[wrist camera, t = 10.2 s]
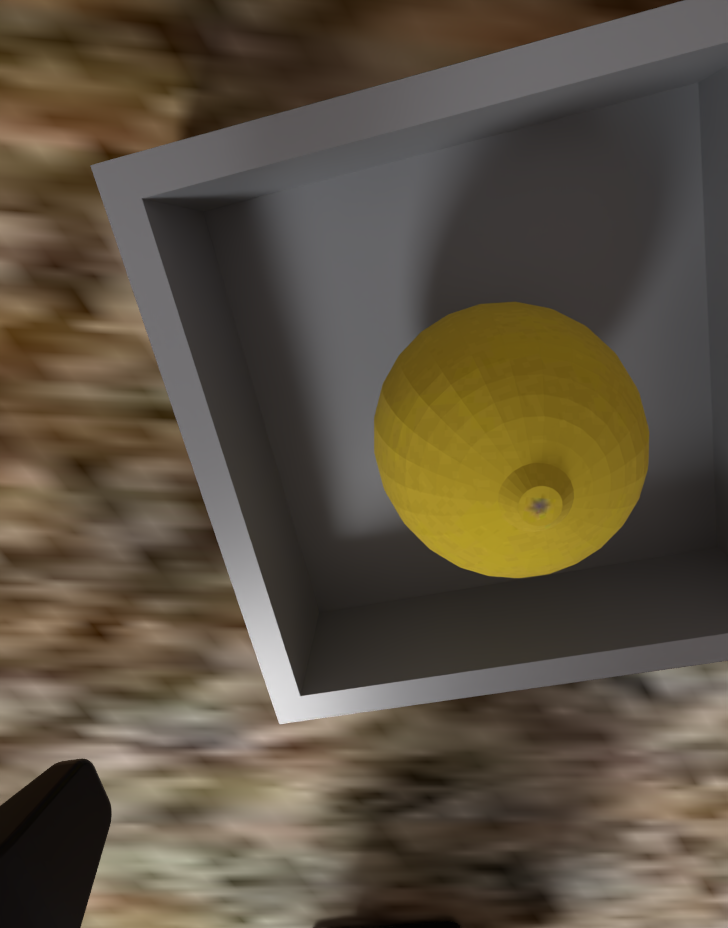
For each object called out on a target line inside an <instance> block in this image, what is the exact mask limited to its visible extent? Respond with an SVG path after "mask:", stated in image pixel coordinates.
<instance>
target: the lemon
mask: <svg viewBox="0 0 728 928" xmlns="http://www.w3.org/2000/svg"><path fill="white" fill-rule="evenodd" d="M374 454H375V458H376V461H377V465H378V469H379V473H380V476H381V480H382V484H383V487H384V490H385V492H386V494H387V496H388V497H389V499H390V501H391V502H392V504H393V506H394V507H395V509H396V511H397V512H398V514H399V516H400V518H401V519H402V521H403V522H404V524H405V525H406V526H407V527H408V528H409V529H410V530H411V531H412V532H413V533H414V534H415V535H416V536H417V537H418V538H419V539H420V540H421V541H422V542H423V543H424V544H425V545H426V546H427V547H428V548H429V549H430V550H432V551H433V552H435V553H437V554H438V555H440V556H442V557H443V558H445V559H447V560H448V561H450V562H452V563H453V564H455V565H457V566H459V567H461V568H464V569H467V570H470V571H474V572H477V573H480V574H483V575H487V576H495V577H509V578H524V577H532V576H539V575H546V574H551V573H553V572H556V571H559V570H561V569H564V568H567V567H569V566H572V565H575V564H577V563H578V562H580V561H582V560H583V559H585V558H586V557H588V556H589V555H591V554H592V553H594V552H596V551H597V550H599V549H600V548H601V547H602V546H603V545H604V544H605V543H606V542H607V541H608V540H609V539H610V538H611V537H612V536H613V535H614V534H615V533H616V532H617V531H618V530H619V529H620V528H621V527H622V526H623V525H624V523H625V521H626V520H627V518H628V516H629V515H630V513H631V511H632V510H633V508H634V506H635V505H636V503H637V501H638V500H639V497H640V494H641V491H642V487H643V484H644V481H645V477H646V474H647V471H648V463H649V428H648V424H647V420H646V416H645V412H644V408H643V405H642V401H641V397H640V394H639V391H638V389H637V387H636V385H635V384H634V382H633V380H632V379H631V377H630V375H629V374H628V372H627V371H626V369H625V367H624V366H623V364H622V362H621V361H620V359H619V358H618V356H617V355H616V353H615V352H614V351H613V350H612V349H611V348H610V347H608V346H607V345H606V344H605V343H604V342H603V341H602V340H601V339H600V338H599V337H598V336H596V335H595V334H594V333H593V332H592V331H591V330H590V329H589V328H588V327H586V326H585V325H583V324H581V323H579V322H577V321H575V320H573V319H571V318H569V317H567V316H565V315H563V314H561V313H559V312H557V311H555V310H553V309H550V308H546V307H541V306H536V305H530V304H525V303H520V302H501V303H486V304H478V305H475V306H472V307H469V308H466V309H463V310H460V311H457V312H454V313H451V314H448V315H447V316H445V317H443V318H442V319H440V320H439V321H437V322H436V323H434V324H433V325H431V326H429V327H428V328H426V329H425V330H423V331H422V332H421V333H420V334H419V335H418V336H417V337H416V338H415V339H414V340H413V341H412V342H411V343H410V344H409V345H408V346H407V347H406V348H405V349H404V350H403V351H402V353H401V354H400V355H399V356H398V358H397V359H396V361H395V363H394V365H393V366H392V368H391V370H390V372H389V374H388V375H387V377H386V379H385V381H384V382H383V385H382V389H381V393H380V396H379V400H378V404H377V408H376V412H375V416H374Z"/></svg>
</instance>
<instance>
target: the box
mask: <svg viewBox="0 0 728 928" xmlns="http://www.w3.org/2000/svg"><path fill="white" fill-rule="evenodd" d="M91 168H92V171H93V174H94V177H95V180H96V183H97V186H98V189H99V192H100V195H101V198H102V201H103V204H104V207H105V210H106V213H107V216H108V219H109V222H110V225H111V228H112V230H113V233H114V236H115V239H116V242H117V245H118V248H119V251H120V254H121V257H122V260H123V263H124V266H125V269H126V272H127V275H128V278H129V281H130V284H131V287H132V290H133V293H134V296H135V298H136V301H137V304H138V307H139V310H140V313H141V316H142V319H143V322H144V325H145V328H146V331H147V334H148V337H149V340H150V343H151V346H152V349H153V352H154V355H155V358H156V361H157V364H158V366H159V369H160V372H161V375H162V378H163V381H164V384H165V387H166V390H167V393H168V396H169V399H170V402H171V405H172V408H173V411H174V414H175V417H176V420H177V423H178V426H179V429H180V432H181V434H182V437H183V440H184V443H185V446H186V449H187V452H188V455H189V458H190V461H191V464H192V467H193V470H194V473H195V476H196V479H197V482H198V485H199V488H200V491H201V494H202V497H203V500H204V503H205V505H206V508H207V511H208V514H209V517H210V520H211V523H212V526H213V529H214V532H215V535H216V538H217V541H218V544H219V547H220V550H221V553H222V556H223V559H224V562H225V565H226V568H227V571H228V573H229V576H230V579H231V582H232V585H233V588H234V591H235V594H236V597H237V600H238V603H239V606H240V609H241V612H242V615H243V618H244V621H245V624H246V627H247V630H248V633H249V636H250V639H251V641H252V644H253V647H254V650H255V653H256V656H257V659H258V662H259V665H260V668H261V671H262V674H263V677H264V680H265V683H266V686H267V689H268V692H269V695H270V698H271V701H272V704H273V707H274V709H275V712H276V715H277V718H278V721H279V724H284V723H291V722H298V721H305V720H312V719H319V718H326V717H333V716H340V715H347V714H354V713H361V712H369V711H376V710H383V709H390V708H397V707H404V706H411V705H418V704H425V703H432V702H439V701H446V700H453V699H460V698H467V697H474V696H481V695H488V694H496V693H503V692H510V691H517V690H524V689H531V688H538V687H545V686H552V685H559V684H566V683H573V682H580V681H587V680H594V679H601V678H608V677H615V676H623V675H630V674H637V673H644V672H651V671H658V670H665V669H672V668H679V667H686V666H693V665H700V664H707V663H714V662H721V661H728V0H684V1H680V2H676V3H673V4H669V5H666V6H662V7H658V8H655V9H651V10H648V11H644V12H640V13H637V14H633V15H630V16H626V17H622V18H619V19H615V20H612V21H608V22H604V23H601V24H597V25H594V26H590V27H587V28H583V29H579V30H576V31H572V32H569V33H565V34H561V35H558V36H554V37H551V38H547V39H543V40H540V41H536V42H533V43H529V44H525V45H522V46H518V47H515V48H511V49H507V50H504V51H500V52H497V53H493V54H489V55H486V56H482V57H479V58H475V59H471V60H468V61H464V62H461V63H457V64H453V65H450V66H446V67H443V68H439V69H435V70H432V71H428V72H425V73H421V74H418V75H414V76H410V77H407V78H403V79H400V80H396V81H392V82H389V83H385V84H382V85H378V86H374V87H371V88H367V89H364V90H360V91H356V92H353V93H349V94H346V95H342V96H338V97H335V98H331V99H328V100H324V101H320V102H317V103H313V104H310V105H306V106H302V107H299V108H295V109H292V110H288V111H284V112H281V113H277V114H274V115H270V116H266V117H263V118H259V119H256V120H252V121H249V122H245V123H241V124H238V125H234V126H231V127H227V128H223V129H220V130H216V131H213V132H209V133H205V134H202V135H198V136H195V137H191V138H187V139H184V140H180V141H177V142H173V143H169V144H166V145H162V146H159V147H155V148H151V149H148V150H144V151H141V152H137V153H133V154H130V155H126V156H123V157H119V158H115V159H112V160H108V161H105V162H101V163H97V164H94V165H91ZM501 302H520V303H525V304H530V305H536V306H541V307H546V308H550V309H553V310H555V311H557V312H559V313H561V314H563V315H565V316H567V317H569V318H571V319H573V320H575V321H577V322H579V323H581V324H583V325H585V326H586V327H588V328H589V329H590V330H591V331H592V332H593V333H594V334H595V335H596V336H598V337H599V338H600V339H601V340H602V341H603V342H604V343H605V344H606V345H607V346H608V347H610V348H611V349H612V350H613V351H614V352H615V353H616V355H617V356H618V358H619V359H620V361H621V362H622V364H623V366H624V367H625V369H626V371H627V372H628V374H629V375H630V377H631V379H632V380H633V382H634V384H635V385H636V387H637V389H638V391H639V394H640V397H641V401H642V405H643V408H644V412H645V416H646V420H647V424H648V428H649V463H648V471H647V474H646V477H645V481H644V484H643V487H642V491H641V494H640V497H639V500H638V501H637V503H636V505H635V506H634V508H633V510H632V511H631V513H630V515H629V516H628V518H627V520H626V521H625V523H624V525H623V526H622V527H621V528H620V529H619V530H618V531H617V532H616V533H615V534H614V535H613V536H612V537H611V538H610V539H609V540H608V541H607V542H606V543H605V544H604V545H603V546H602V547H601V548H600V549H599V550H597V551H596V552H594V553H592V554H591V555H589V556H588V557H586V558H585V559H583V560H582V561H580V562H578V563H577V564H575V565H572V566H569V567H567V568H564V569H561V570H559V571H556V572H553V573H551V574H546V575H539V576H532V577H524V578H509V577H495V576H487V575H483V574H480V573H477V572H474V571H470V570H467V569H464V568H461V567H459V566H457V565H455V564H453V563H452V562H450V561H448V560H447V559H445V558H443V557H442V556H440V555H438V554H437V553H435V552H433V551H432V550H430V549H429V548H428V547H427V546H426V545H425V544H424V543H423V542H422V541H421V540H420V539H419V538H418V537H417V536H416V535H415V534H414V533H413V532H412V531H411V530H410V529H409V528H408V527H407V526H406V525H405V524H404V522H403V521H402V519H401V518H400V516H399V514H398V512H397V511H396V509H395V507H394V506H393V504H392V502H391V501H390V499H389V497H388V496H387V494H386V492H385V490H384V487H383V484H382V480H381V476H380V473H379V469H378V465H377V461H376V458H375V454H374V416H375V412H376V408H377V404H378V400H379V396H380V393H381V389H382V385H383V382H384V381H385V379H386V377H387V375H388V374H389V372H390V370H391V368H392V366H393V365H394V363H395V361H396V359H397V358H398V356H399V355H400V354H401V353H402V351H403V350H404V349H405V348H406V347H407V346H408V345H409V344H410V343H411V342H412V341H413V340H414V339H415V338H416V337H417V336H418V335H419V334H420V333H421V332H422V331H423V330H425V329H426V328H428V327H429V326H431V325H433V324H434V323H436V322H437V321H439V320H440V319H442V318H443V317H445V316H447V315H448V314H451V313H454V312H457V311H460V310H463V309H466V308H469V307H472V306H475V305H478V304H486V303H501Z"/></svg>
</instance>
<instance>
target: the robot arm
mask: <svg viewBox="0 0 728 928" xmlns="http://www.w3.org/2000/svg"><path fill="white" fill-rule="evenodd" d="M110 823H111V804H110V801H109V799H108V796H107V794H106V792H105V790H104V787H103V785H102V783H101V781H100V778H99V776H98V774H97V772H96V769H95V767H94V765H93V764H92V763H91V762H90V761H89V760H87V759H76V760H68V761H62V762H58V763H56V764H54V765H53V766H51V767H50V768H49V769H47V770H46V771H45V772H43V773H42V774H41V775H40V776H38V777H37V778H36V779H34V780H33V781H32V782H30V783H29V784H28V785H27V786H25V787H24V788H23V789H21V790H20V791H19V792H18V793H16V794H15V795H14V796H12V797H11V798H10V799H9V800H7V801H6V802H5V803H3V804H2V805H1V806H0V928H80V927H81V923H82V920H83V917H84V913H85V910H86V906H87V903H88V899H89V896H90V893H91V889H92V886H93V882H94V879H95V875H96V872H97V868H98V865H99V862H100V858H101V855H102V851H103V848H104V844H105V841H106V838H107V834H108V831H109V827H110ZM382 928H461V927H460V925H458V924H457V923H455V922H450V921H446V922H436V923H425V924H414V925H404V926H393V927H382Z"/></svg>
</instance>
